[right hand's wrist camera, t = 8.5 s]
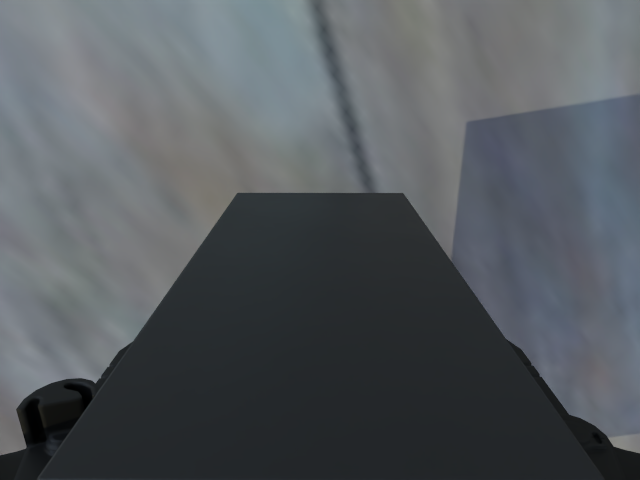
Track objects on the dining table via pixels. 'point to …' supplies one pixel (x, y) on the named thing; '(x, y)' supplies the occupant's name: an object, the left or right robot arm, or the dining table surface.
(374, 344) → the box
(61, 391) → the right robot arm
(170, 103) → the dining table surface
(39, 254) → the dining table surface
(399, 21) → the dining table surface
